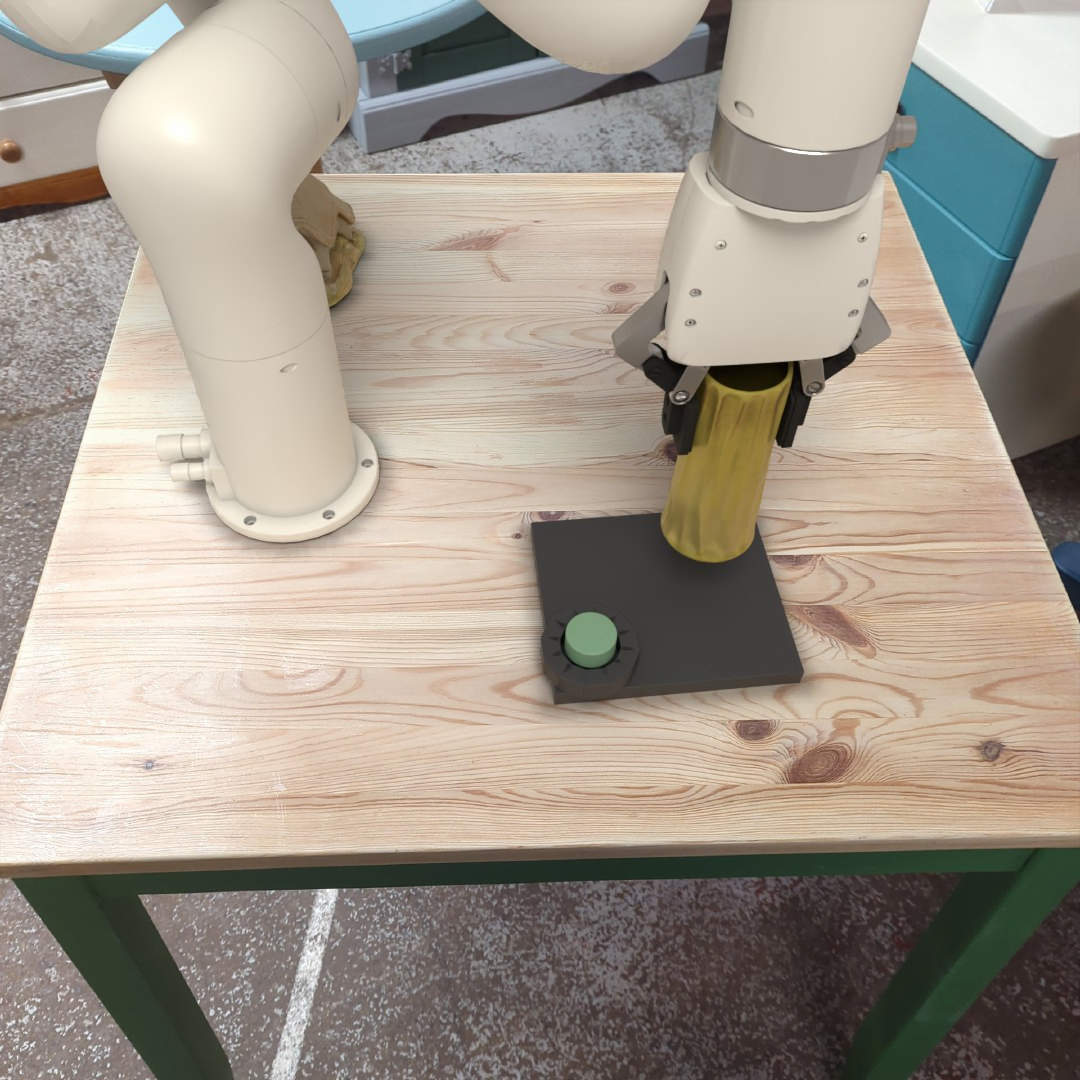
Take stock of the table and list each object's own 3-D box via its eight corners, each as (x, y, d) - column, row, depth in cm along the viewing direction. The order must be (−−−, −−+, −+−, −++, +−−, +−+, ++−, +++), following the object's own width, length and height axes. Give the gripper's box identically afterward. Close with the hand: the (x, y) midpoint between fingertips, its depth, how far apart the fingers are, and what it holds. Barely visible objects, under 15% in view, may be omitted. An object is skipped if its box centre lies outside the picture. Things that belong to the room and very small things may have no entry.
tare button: (568, 670, 62) (569, 657, 61) (561, 627, 64) (562, 613, 63) (619, 666, 62) (621, 652, 61) (611, 623, 64) (612, 609, 63)
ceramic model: (244, 228, 95) (219, 127, 87) (363, 218, 96) (349, 118, 88) (242, 323, 86) (214, 221, 78) (373, 311, 87) (359, 209, 79)
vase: (772, 529, 65) (825, 363, 54) (713, 581, 63) (755, 417, 52) (701, 478, 68) (737, 310, 57) (640, 526, 65) (666, 359, 54)
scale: (546, 714, 63) (547, 690, 61) (523, 534, 72) (523, 507, 70) (802, 690, 64) (812, 666, 62) (747, 518, 73) (755, 490, 71)
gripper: (949, 96, 48) (850, 382, 62) (593, 111, 46) (575, 400, 60) (1012, 184, 43) (890, 471, 57) (619, 204, 42) (593, 493, 56)
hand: (729, 432), depth 59 cm, fingers closed on vase, 5 cm apart
